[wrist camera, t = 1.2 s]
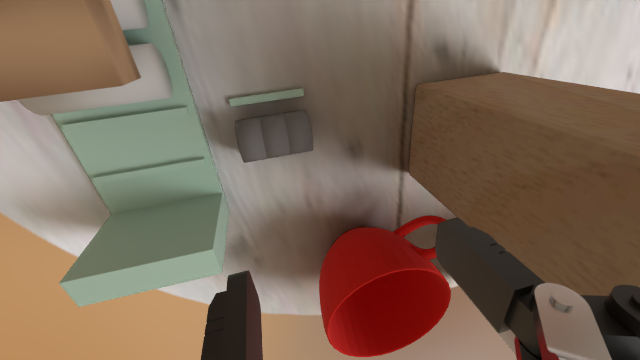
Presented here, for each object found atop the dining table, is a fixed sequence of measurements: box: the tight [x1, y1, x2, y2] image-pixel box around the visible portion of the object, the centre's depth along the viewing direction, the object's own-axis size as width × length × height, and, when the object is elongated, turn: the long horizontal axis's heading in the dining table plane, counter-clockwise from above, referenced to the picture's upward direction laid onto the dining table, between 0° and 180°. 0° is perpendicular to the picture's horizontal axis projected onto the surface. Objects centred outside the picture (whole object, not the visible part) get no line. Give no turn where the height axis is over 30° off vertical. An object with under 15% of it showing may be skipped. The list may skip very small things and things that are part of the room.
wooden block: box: [408, 72, 640, 296], centre depth 21 cm, size 10×10×20 cm
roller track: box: [18, 0, 229, 307], centre depth 17 cm, size 27×10×9 cm, turn 5°
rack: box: [229, 88, 304, 107], centre depth 25 cm, size 5×6×1 cm
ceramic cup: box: [319, 216, 451, 357], centre depth 30 cm, size 13×17×10 cm
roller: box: [235, 110, 313, 163], centre depth 24 cm, size 4×6×4 cm, turn 95°
